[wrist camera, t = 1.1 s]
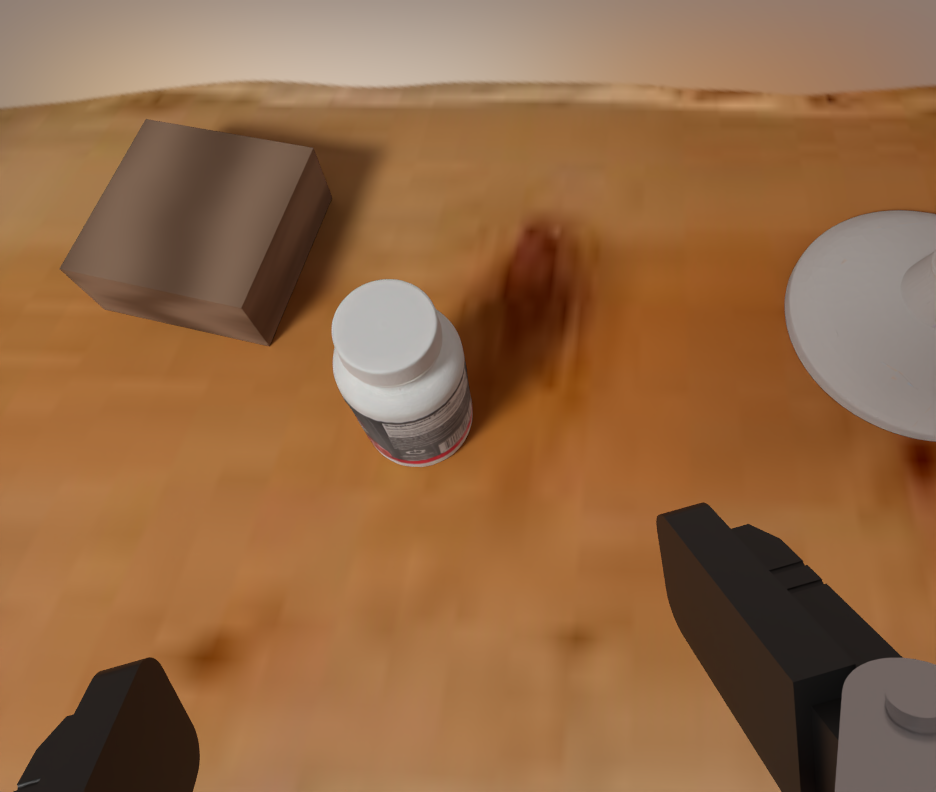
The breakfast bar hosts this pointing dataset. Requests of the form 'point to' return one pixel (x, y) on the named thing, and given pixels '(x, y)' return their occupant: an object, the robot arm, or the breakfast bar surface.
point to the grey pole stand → (871, 318)
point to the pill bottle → (402, 372)
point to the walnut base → (202, 230)
